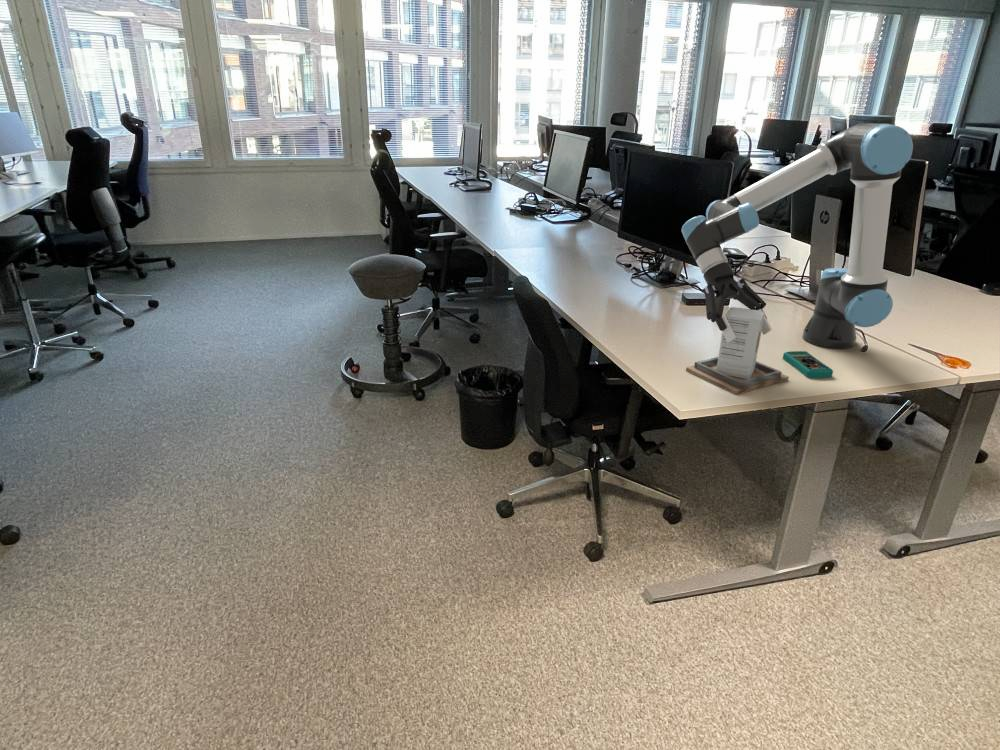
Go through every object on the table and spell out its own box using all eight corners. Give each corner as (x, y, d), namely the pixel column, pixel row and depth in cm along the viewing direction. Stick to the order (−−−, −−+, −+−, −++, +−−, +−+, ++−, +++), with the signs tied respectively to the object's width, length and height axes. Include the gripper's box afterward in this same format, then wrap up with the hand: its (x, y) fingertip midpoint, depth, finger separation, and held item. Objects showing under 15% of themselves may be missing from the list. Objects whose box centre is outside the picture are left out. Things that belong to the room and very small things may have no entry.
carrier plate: (736, 358, 186) (737, 350, 185) (788, 380, 172) (789, 371, 171) (685, 370, 177) (686, 362, 176) (736, 394, 163) (737, 385, 162)
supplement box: (750, 380, 169) (761, 320, 162) (715, 373, 173) (724, 315, 166) (755, 368, 177) (765, 310, 170) (721, 362, 181) (730, 305, 174)
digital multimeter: (807, 380, 173) (810, 370, 172) (781, 359, 187) (783, 350, 186) (833, 379, 174) (835, 369, 173) (804, 359, 187) (806, 349, 186)
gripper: (738, 270, 183) (772, 335, 177) (673, 281, 172) (707, 350, 166) (756, 256, 176) (791, 322, 170) (690, 266, 165) (725, 337, 159)
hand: (750, 336), depth 168 cm, fingers open, 13 cm apart
